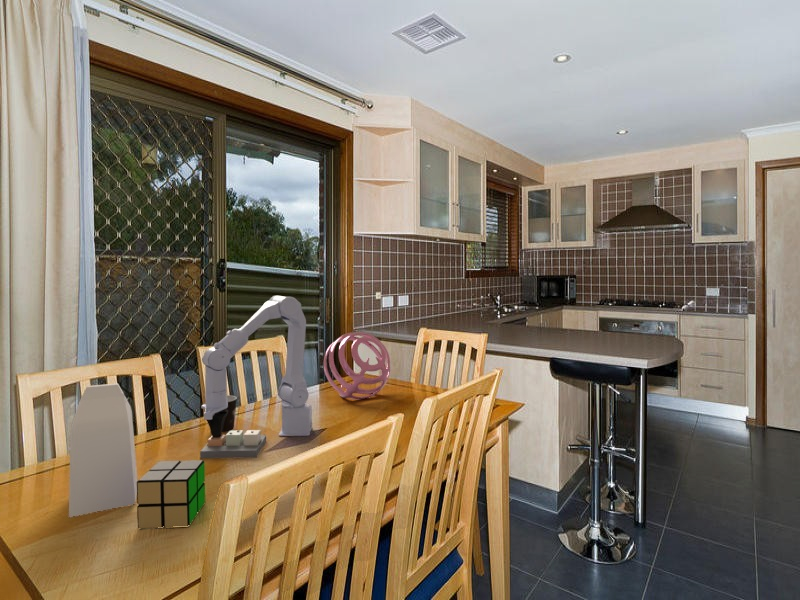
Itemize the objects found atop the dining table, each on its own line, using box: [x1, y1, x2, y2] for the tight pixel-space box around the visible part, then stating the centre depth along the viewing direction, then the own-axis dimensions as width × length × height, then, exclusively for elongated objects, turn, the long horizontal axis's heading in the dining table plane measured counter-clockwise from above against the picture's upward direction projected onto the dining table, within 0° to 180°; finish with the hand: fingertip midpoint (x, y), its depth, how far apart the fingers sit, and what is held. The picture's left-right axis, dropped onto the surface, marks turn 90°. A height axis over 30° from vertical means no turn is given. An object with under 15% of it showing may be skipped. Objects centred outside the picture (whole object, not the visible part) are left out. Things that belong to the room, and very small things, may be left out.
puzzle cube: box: [136, 459, 206, 529], centre depth 96 cm, size 10×10×10 cm
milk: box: [68, 382, 138, 518], centre depth 102 cm, size 12×12×26 cm
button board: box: [199, 434, 267, 459], centre depth 133 cm, size 15×12×2 cm
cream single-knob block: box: [243, 429, 262, 446], centre depth 133 cm, size 4×4×4 cm
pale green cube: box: [225, 429, 244, 446], centre depth 132 cm, size 4×4×4 cm
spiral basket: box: [323, 331, 391, 400], centre depth 191 cm, size 28×28×27 cm
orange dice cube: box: [207, 434, 226, 446], centre depth 132 cm, size 4×4×4 cm
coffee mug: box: [222, 394, 238, 433], centre depth 151 cm, size 12×9×10 cm
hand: (216, 436), depth 132 cm, fingers closed, pressing on orange dice cube
